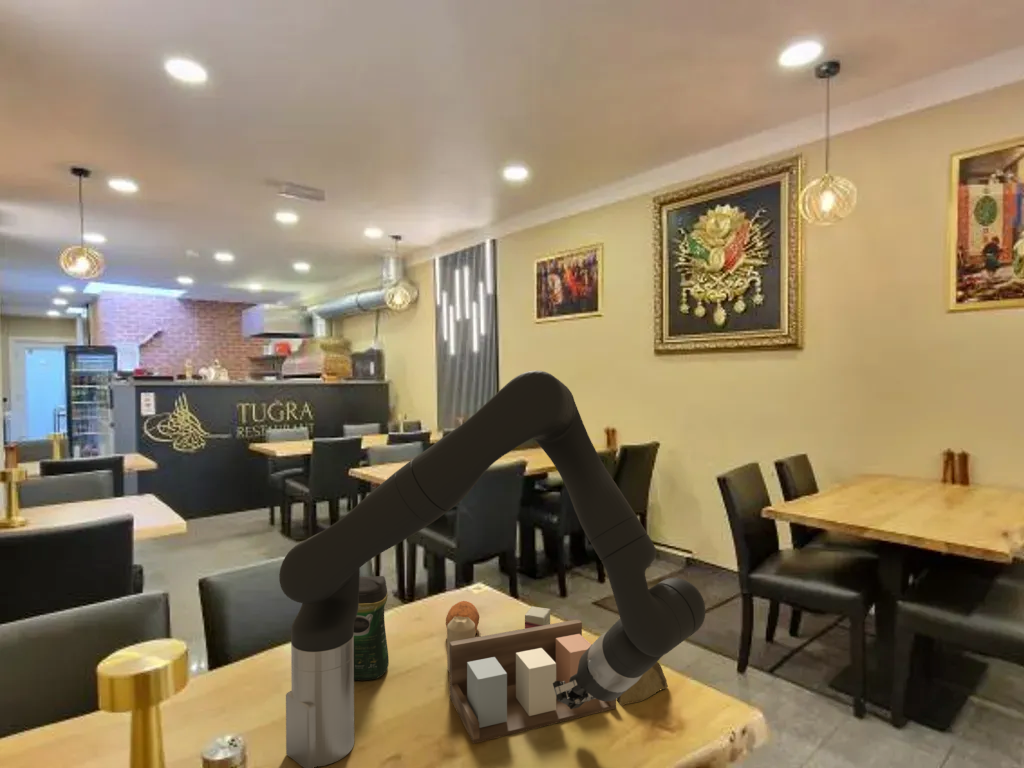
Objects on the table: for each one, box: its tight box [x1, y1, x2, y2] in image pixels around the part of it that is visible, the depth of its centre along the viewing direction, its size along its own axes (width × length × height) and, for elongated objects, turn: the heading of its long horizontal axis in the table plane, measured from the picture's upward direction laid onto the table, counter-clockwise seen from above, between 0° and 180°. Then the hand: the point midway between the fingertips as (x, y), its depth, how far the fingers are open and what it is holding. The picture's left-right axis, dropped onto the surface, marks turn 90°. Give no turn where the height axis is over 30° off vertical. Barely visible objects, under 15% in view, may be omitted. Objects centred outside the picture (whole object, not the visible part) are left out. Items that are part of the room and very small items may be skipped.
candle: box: [446, 616, 476, 673], centre depth 114 cm, size 6×6×10 cm
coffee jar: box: [354, 575, 389, 681], centre depth 113 cm, size 10×8×19 cm
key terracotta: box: [556, 634, 593, 684], centre depth 106 cm, size 6×5×8 cm
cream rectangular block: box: [516, 648, 556, 716], centre depth 101 cm, size 6×5×8 cm
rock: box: [616, 661, 669, 707], centre depth 105 cm, size 11×9×10 cm
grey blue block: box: [467, 657, 507, 728], centre depth 97 cm, size 6×5×8 cm
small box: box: [524, 605, 551, 629], centre depth 122 cm, size 5×4×8 cm
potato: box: [445, 600, 480, 634], centre depth 129 cm, size 7×13×7 cm, turn 176°
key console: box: [449, 618, 617, 744], centre depth 102 cm, size 14×26×10 cm, turn 112°
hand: (571, 701), depth 95 cm, fingers closed
